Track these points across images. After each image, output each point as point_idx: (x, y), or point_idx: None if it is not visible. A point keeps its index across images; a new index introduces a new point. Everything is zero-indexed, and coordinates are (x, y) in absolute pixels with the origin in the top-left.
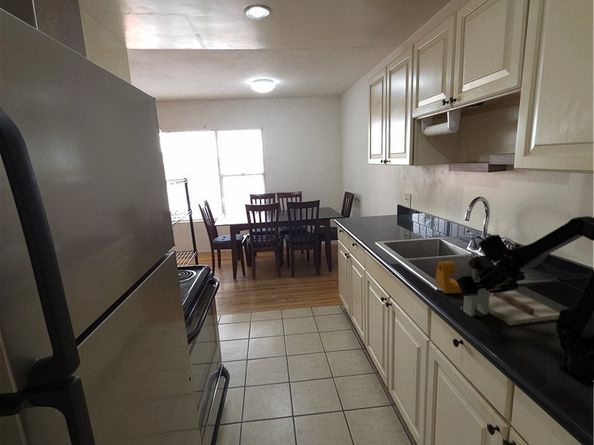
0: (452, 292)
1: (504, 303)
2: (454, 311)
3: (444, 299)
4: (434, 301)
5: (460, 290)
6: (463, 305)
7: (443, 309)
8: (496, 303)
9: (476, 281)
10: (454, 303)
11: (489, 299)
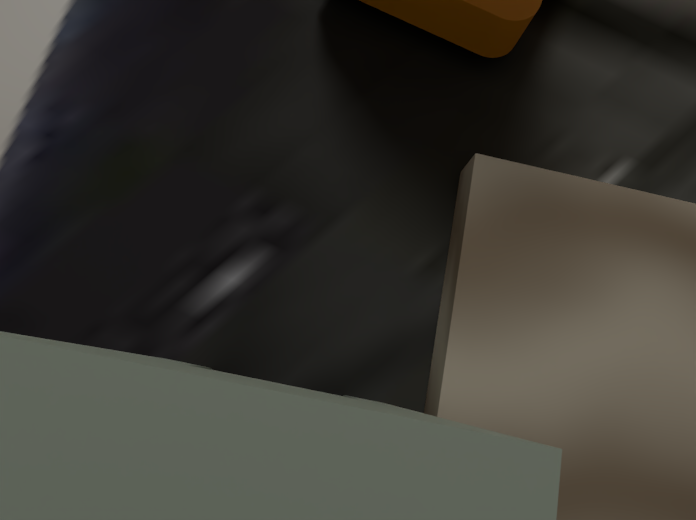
0: (397, 11)
1: (693, 501)
2: (72, 325)
3: (231, 67)
4: (94, 53)
5: (484, 32)
6: (150, 356)
7: (6, 234)
8: (604, 461)
9: (350, 413)
10: (245, 180)
11: (611, 339)
